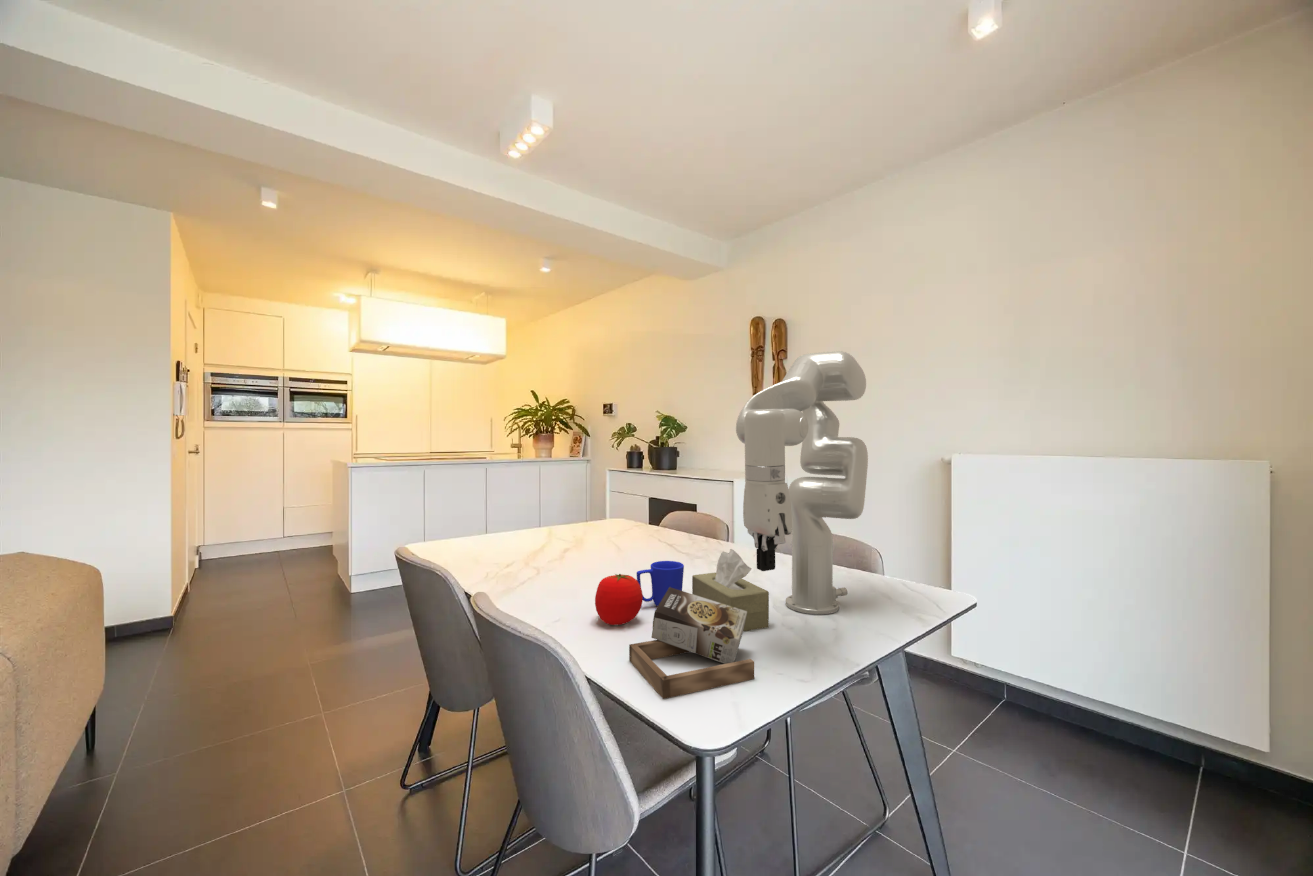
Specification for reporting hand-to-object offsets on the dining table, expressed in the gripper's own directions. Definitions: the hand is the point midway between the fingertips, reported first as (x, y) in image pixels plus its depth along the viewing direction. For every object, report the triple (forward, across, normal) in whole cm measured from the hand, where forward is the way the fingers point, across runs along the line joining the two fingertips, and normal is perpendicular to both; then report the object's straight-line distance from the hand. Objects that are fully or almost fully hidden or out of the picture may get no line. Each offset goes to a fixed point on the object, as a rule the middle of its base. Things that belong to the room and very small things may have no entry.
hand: (766, 569), depth 101 cm
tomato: (+16, +27, +21) cm, 38 cm away
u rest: (+16, -1, +17) cm, 23 cm away
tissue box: (+17, +20, -3) cm, 26 cm away
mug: (+17, +33, +8) cm, 38 cm away
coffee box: (+12, -1, +6) cm, 14 cm away
